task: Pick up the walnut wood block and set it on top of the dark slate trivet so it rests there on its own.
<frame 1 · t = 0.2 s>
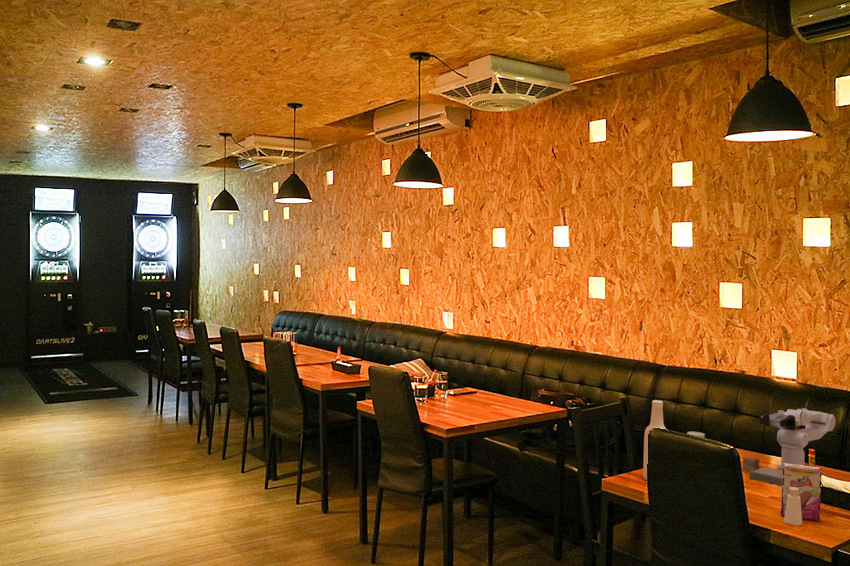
hand: (770, 422, 272), 21 cm above the table, tool horizontal, fingers open, 7 cm apart
beer can: (694, 474, 273), on the table
block: (750, 470, 281), on the table
salt shaker: (792, 523, 221), on the table
alcohol: (655, 480, 264), on the table
trivet: (772, 479, 268), on the table
candy bar box: (800, 517, 227), on the table
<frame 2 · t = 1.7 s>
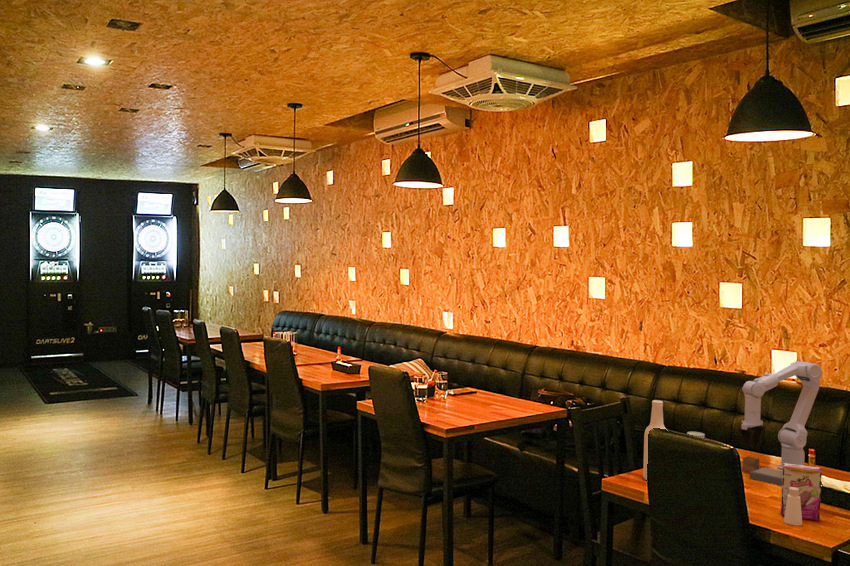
hand: (751, 445, 281), 10 cm above the table, tool pointing down, fingers open, 7 cm apart
nothing on the table moved.
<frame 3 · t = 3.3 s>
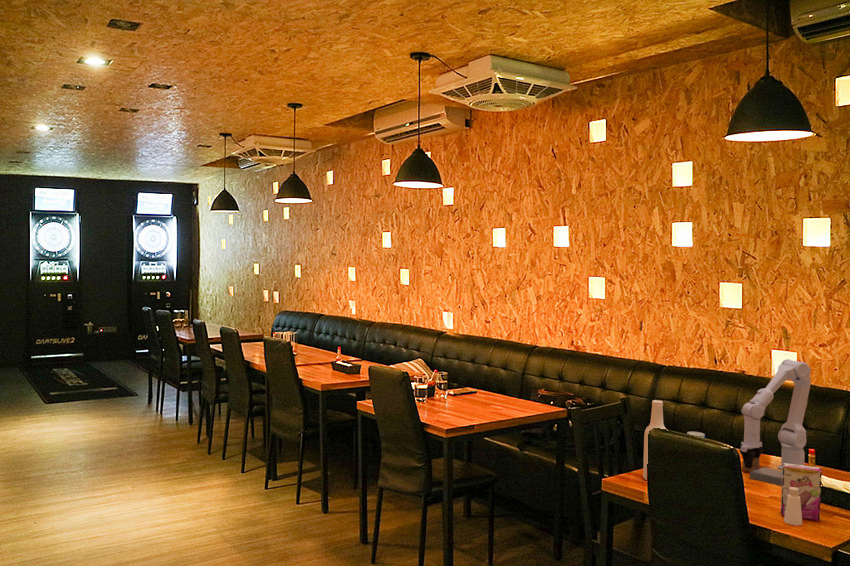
hand: (751, 466, 281), 1 cm above the table, tool pointing down, fingers closed on block, 4 cm apart
block: (750, 470, 281), on the table, touching gripper
everything else where it was.
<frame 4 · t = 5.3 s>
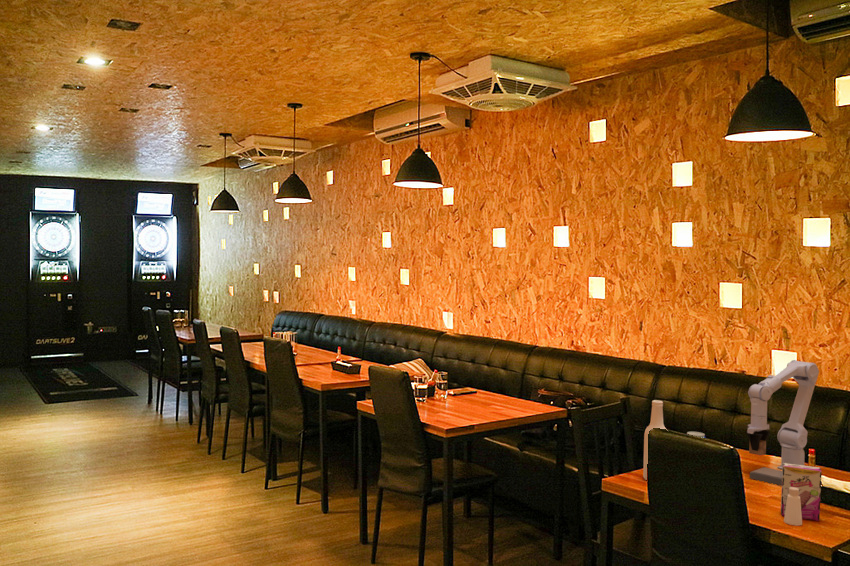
hand: (757, 449, 277), 9 cm above the table, tool pointing down, fingers closed on block, 4 cm apart
block: (757, 453, 277), point 8 cm above the table, touching gripper
everything else where it was.
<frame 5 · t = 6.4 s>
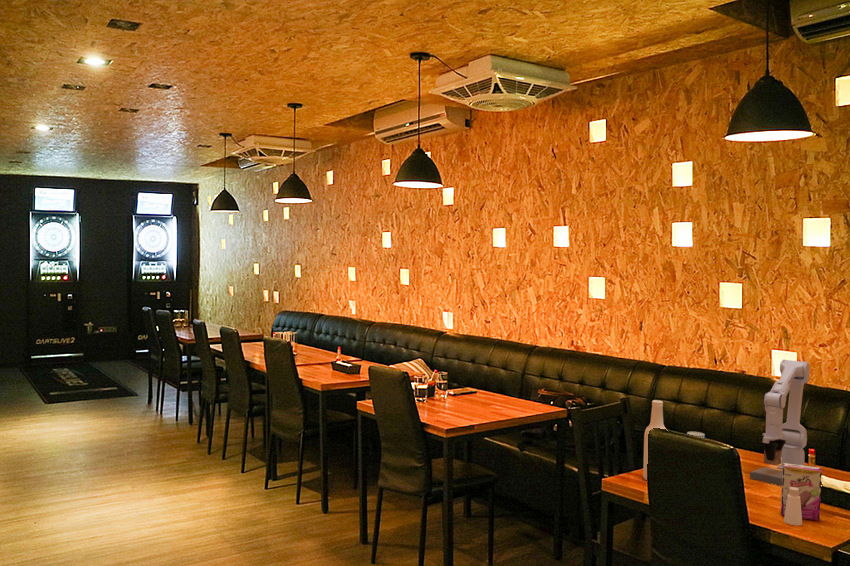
hand: (773, 459, 268), 8 cm above the table, tool pointing down, fingers closed on block, 4 cm apart
block: (772, 463, 268), point 6 cm above the table, touching gripper
everything else where it was.
when the fingers open (5 cm above the table, at t = 7.5 s): block stays where it is, resting on trivet.
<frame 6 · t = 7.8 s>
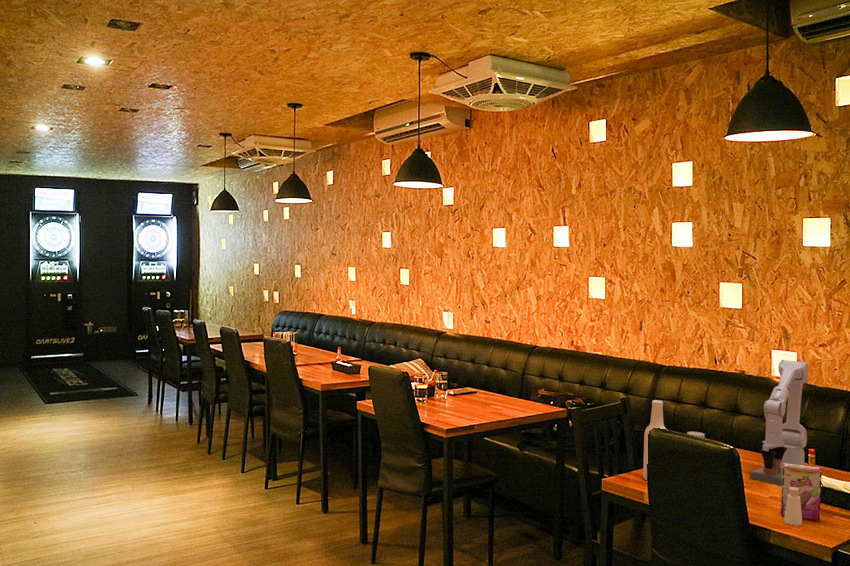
hand: (772, 466, 268), 5 cm above the table, tool pointing down, fingers open, 7 cm apart
block: (772, 472, 269), point 3 cm above the table, touching trivet
everything else where it was.
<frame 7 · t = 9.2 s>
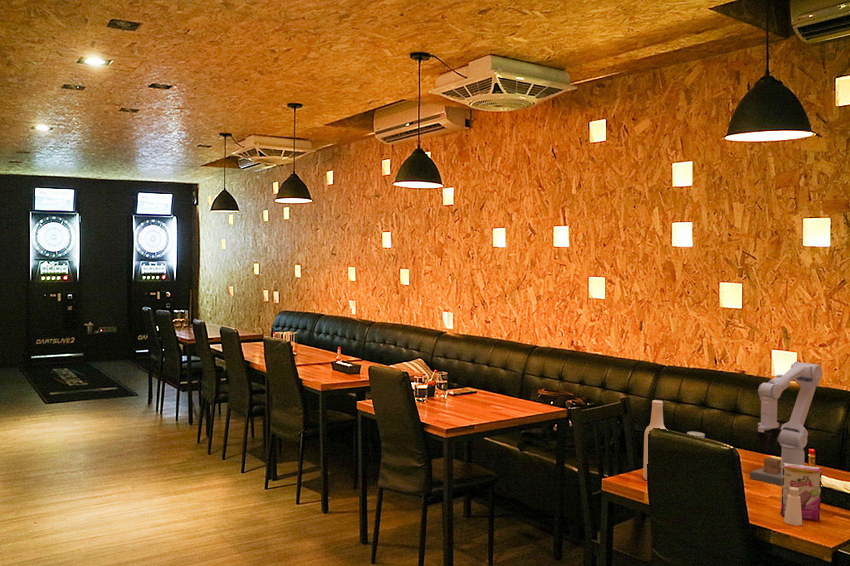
hand: (768, 447, 276), 10 cm above the table, tool pointing down, fingers open, 7 cm apart
nothing on the table moved.
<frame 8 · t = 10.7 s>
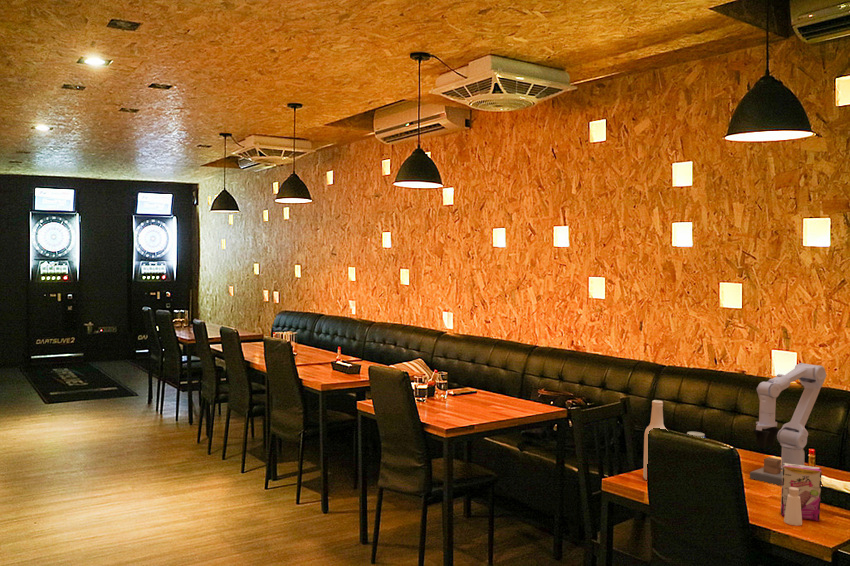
hand: (765, 446, 278), 10 cm above the table, tool pointing down, fingers open, 7 cm apart
nothing on the table moved.
at the end: block inside the target area on the trivet (0.2 cm from its centre), point 2.7 cm above the trivet's base; block tilted 0°; the gripper is holding nothing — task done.
